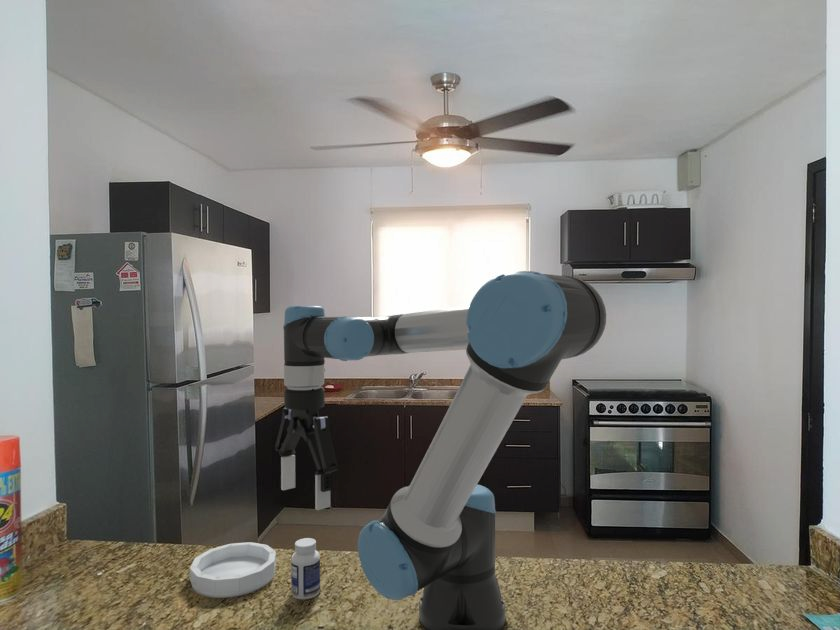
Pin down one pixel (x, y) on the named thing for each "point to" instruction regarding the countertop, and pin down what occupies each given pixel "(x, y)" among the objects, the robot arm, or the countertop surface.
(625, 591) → the countertop surface
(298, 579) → the pill bottle
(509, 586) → the countertop surface
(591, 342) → the robot arm
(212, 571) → the dish
